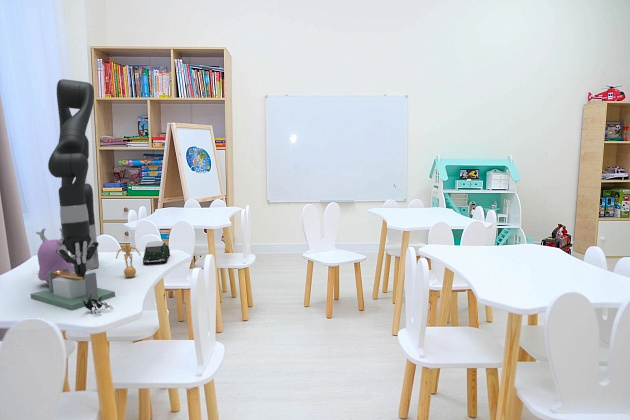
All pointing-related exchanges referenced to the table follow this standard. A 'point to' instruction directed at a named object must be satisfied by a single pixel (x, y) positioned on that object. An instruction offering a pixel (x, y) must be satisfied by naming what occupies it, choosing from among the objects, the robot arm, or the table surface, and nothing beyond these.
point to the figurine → (130, 270)
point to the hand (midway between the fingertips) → (80, 275)
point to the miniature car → (156, 252)
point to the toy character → (50, 257)
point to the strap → (67, 274)
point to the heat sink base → (77, 300)
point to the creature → (90, 305)
